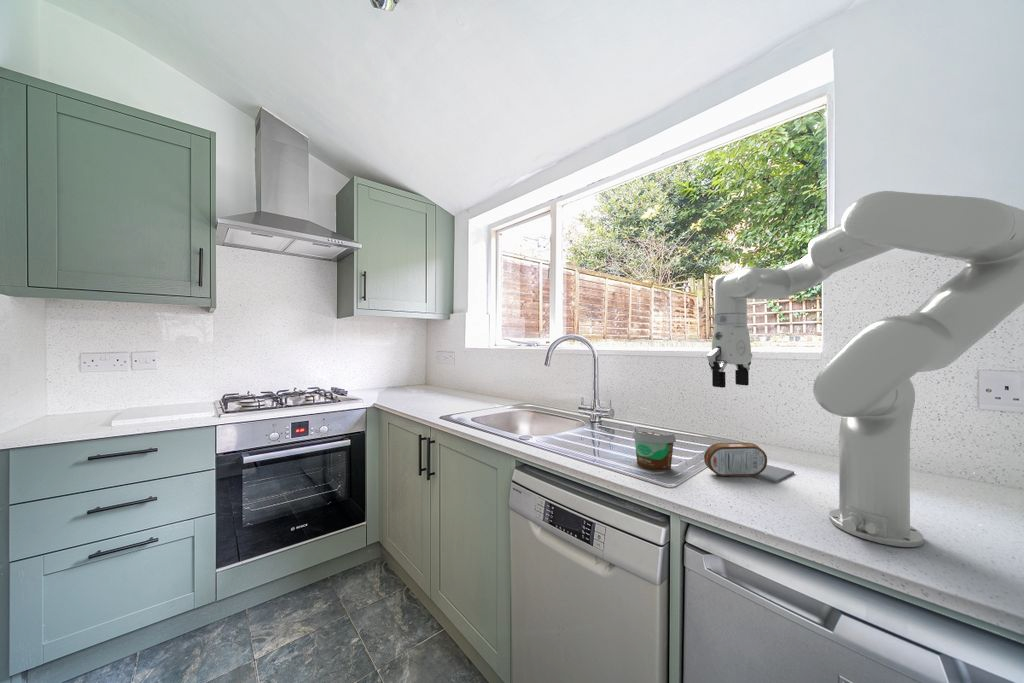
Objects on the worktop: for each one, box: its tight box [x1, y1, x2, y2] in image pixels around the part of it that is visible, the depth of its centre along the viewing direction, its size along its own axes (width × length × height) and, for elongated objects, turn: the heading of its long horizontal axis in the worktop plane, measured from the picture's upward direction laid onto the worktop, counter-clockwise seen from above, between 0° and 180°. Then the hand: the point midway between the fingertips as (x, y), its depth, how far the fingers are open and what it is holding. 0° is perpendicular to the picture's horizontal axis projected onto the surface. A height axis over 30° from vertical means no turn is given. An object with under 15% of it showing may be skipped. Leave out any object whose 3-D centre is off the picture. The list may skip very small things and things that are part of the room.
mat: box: [750, 464, 795, 484], centre depth 101 cm, size 12×16×1 cm
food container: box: [631, 427, 677, 472], centre depth 103 cm, size 12×6×10 cm, turn 47°
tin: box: [703, 442, 768, 477], centre depth 96 cm, size 15×3×8 cm, turn 84°
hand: (730, 385), depth 95 cm, fingers open, 9 cm apart
